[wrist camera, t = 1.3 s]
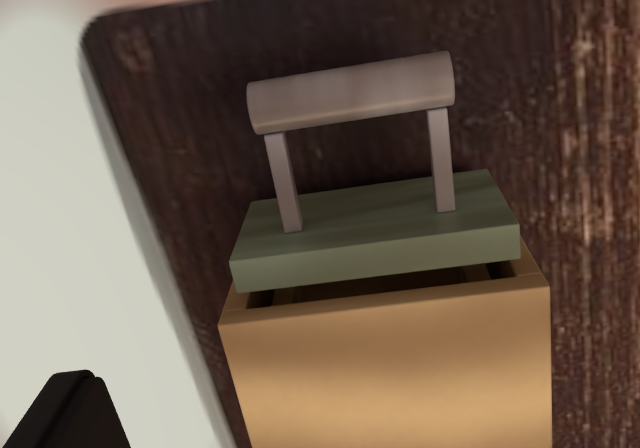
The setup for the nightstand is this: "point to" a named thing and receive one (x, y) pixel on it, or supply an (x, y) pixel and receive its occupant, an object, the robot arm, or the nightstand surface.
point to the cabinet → (397, 365)
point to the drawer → (368, 195)
